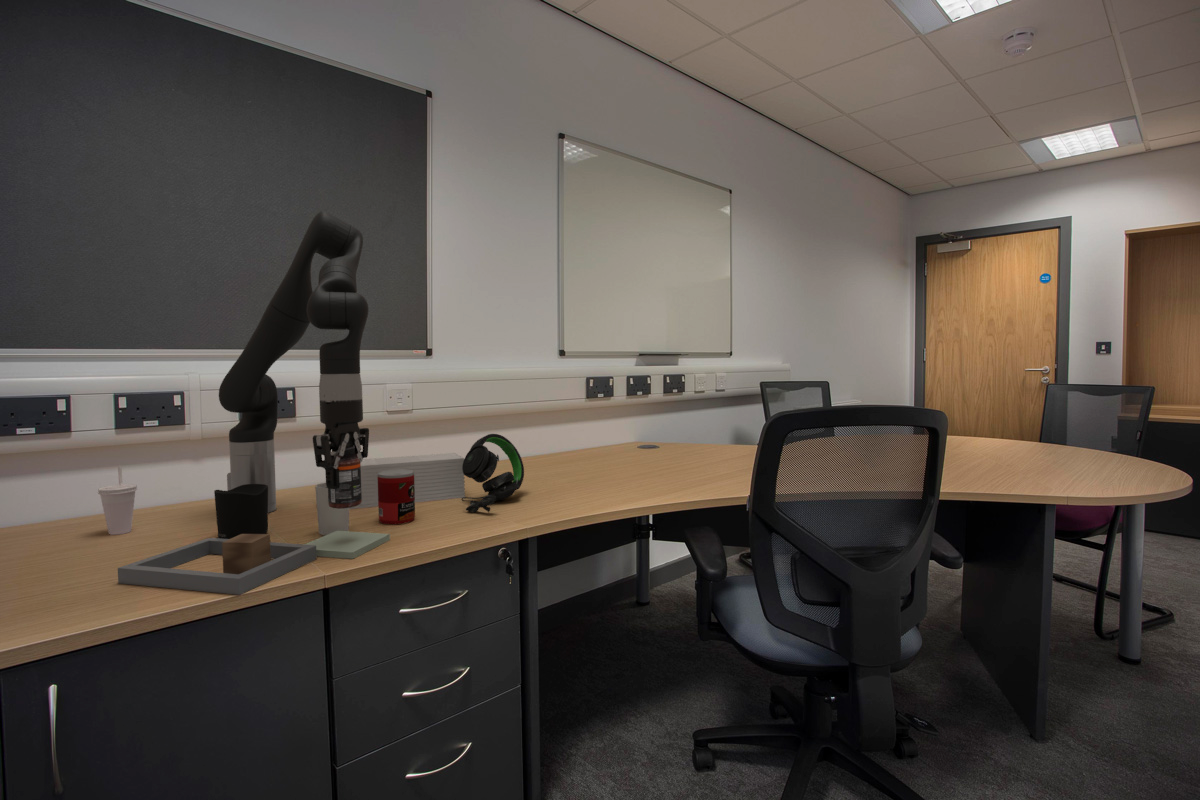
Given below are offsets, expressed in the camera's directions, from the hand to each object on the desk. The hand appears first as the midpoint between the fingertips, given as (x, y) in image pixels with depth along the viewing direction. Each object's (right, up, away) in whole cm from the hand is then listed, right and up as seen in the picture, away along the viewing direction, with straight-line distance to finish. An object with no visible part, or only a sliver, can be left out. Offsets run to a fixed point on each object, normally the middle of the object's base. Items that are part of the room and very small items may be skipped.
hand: (344, 484), depth 114 cm
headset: (+23, -10, +38) cm, 45 cm away
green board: (0, -12, 0) cm, 12 cm away
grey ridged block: (-3, -10, +41) cm, 42 cm away
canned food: (+3, -11, +20) cm, 23 cm away
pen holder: (-24, -12, +8) cm, 28 cm away
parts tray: (-15, -13, -13) cm, 24 cm away
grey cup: (-7, -12, +11) cm, 18 cm away
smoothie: (-52, -12, +11) cm, 54 cm away
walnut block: (-10, -13, -14) cm, 22 cm away
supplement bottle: (0, -4, 0) cm, 4 cm away
